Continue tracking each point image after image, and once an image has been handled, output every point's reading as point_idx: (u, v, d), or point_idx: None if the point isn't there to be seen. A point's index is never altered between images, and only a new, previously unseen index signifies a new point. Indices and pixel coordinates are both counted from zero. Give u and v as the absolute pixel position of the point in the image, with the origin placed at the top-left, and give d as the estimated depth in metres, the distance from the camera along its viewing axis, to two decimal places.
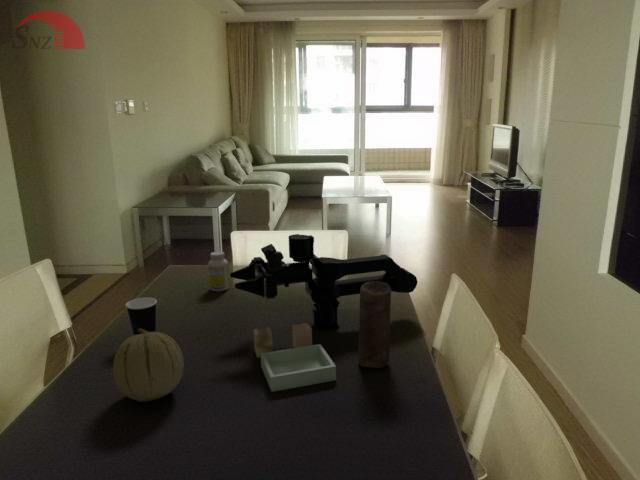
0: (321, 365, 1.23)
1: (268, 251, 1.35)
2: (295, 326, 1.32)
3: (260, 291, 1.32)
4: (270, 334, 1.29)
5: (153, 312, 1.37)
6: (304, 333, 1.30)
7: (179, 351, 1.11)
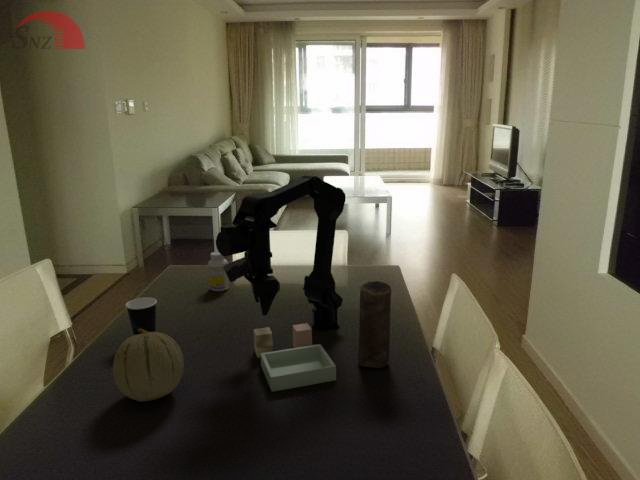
0: (321, 365, 1.23)
1: (229, 277, 1.22)
2: (295, 326, 1.32)
3: None
4: (270, 334, 1.29)
5: (153, 312, 1.37)
6: (304, 334, 1.30)
7: (179, 351, 1.11)
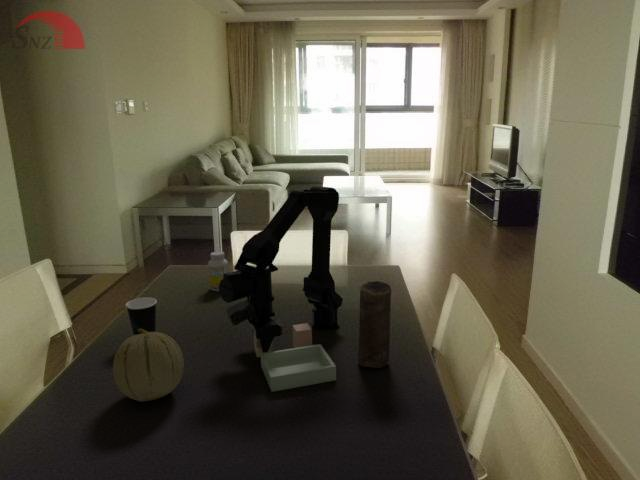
0: (321, 365, 1.23)
1: (232, 321, 1.25)
2: (295, 326, 1.32)
3: None
4: None
5: (153, 312, 1.37)
6: (304, 333, 1.30)
7: (179, 351, 1.11)
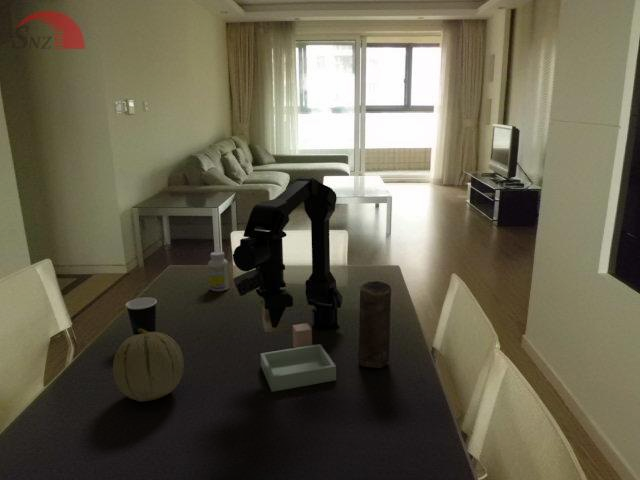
0: (321, 365, 1.23)
1: None
2: (295, 326, 1.32)
3: None
4: None
5: (153, 312, 1.37)
6: (304, 333, 1.30)
7: (179, 351, 1.11)
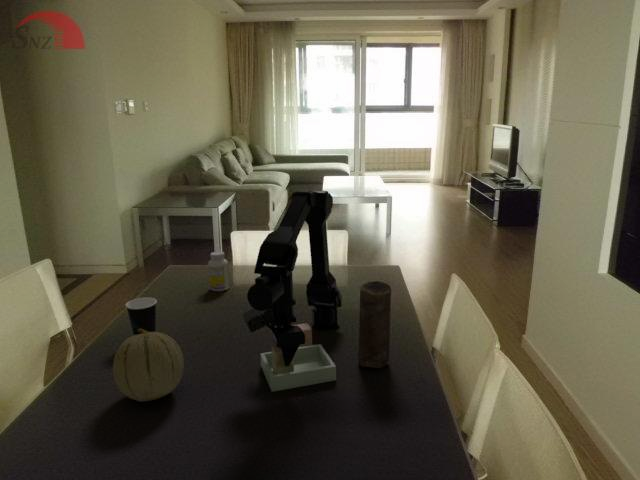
0: (321, 365, 1.23)
1: None
2: None
3: None
4: None
5: (153, 312, 1.37)
6: (304, 333, 1.30)
7: (179, 351, 1.11)
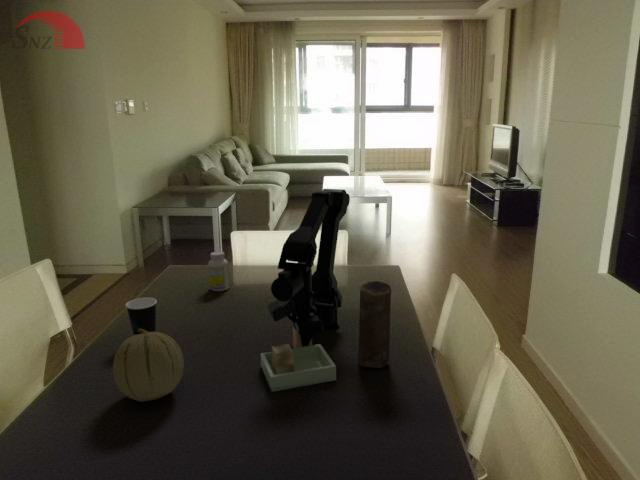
0: (321, 365, 1.23)
1: None
2: None
3: None
4: (291, 352, 1.17)
5: (153, 312, 1.37)
6: None
7: (179, 351, 1.11)
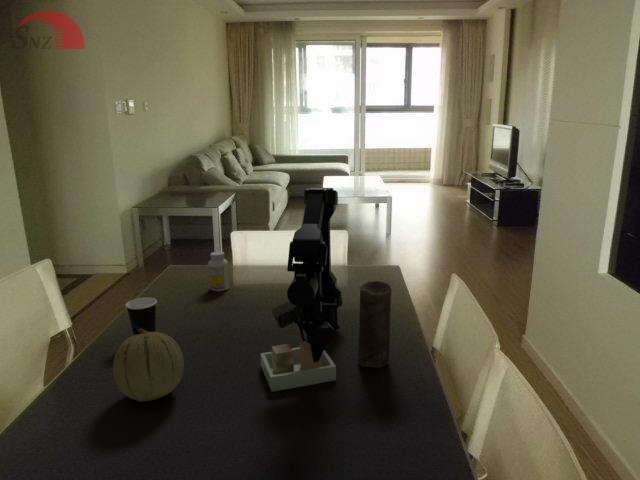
0: (321, 365, 1.23)
1: None
2: (303, 343, 1.21)
3: None
4: (291, 352, 1.17)
5: (153, 312, 1.37)
6: None
7: (179, 351, 1.11)
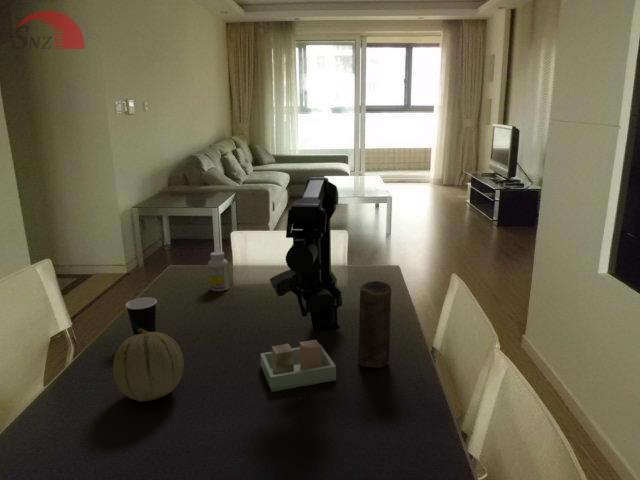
0: (321, 365, 1.23)
1: (278, 291, 1.12)
2: (303, 343, 1.21)
3: (324, 308, 1.12)
4: (291, 352, 1.17)
5: (153, 312, 1.37)
6: (313, 352, 1.19)
7: (179, 351, 1.11)
